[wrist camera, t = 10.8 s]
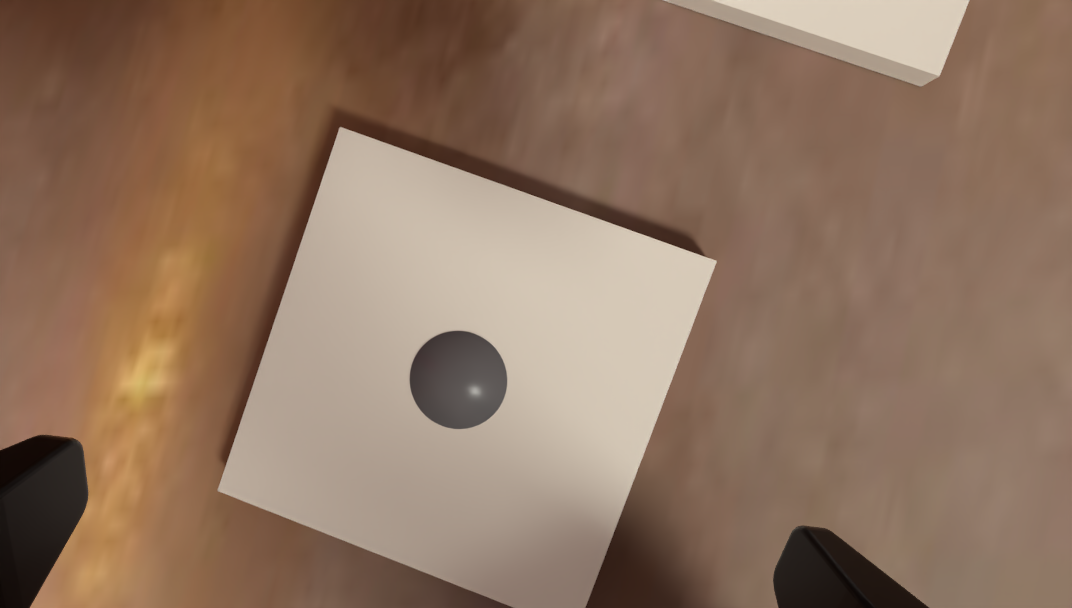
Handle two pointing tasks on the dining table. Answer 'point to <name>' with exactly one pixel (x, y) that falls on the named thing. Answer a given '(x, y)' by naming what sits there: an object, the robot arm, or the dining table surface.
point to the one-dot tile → (463, 375)
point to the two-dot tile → (854, 29)
